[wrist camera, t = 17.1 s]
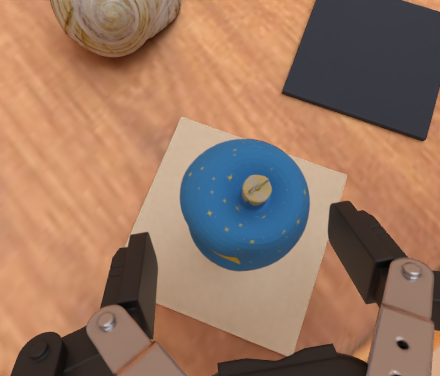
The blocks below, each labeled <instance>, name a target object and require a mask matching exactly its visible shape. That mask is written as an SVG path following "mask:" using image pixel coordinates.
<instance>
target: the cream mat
mask: <svg viewBox="0 0 440 376" xmlns="http://www.w3.org/2000/svg"><path fill="white" fill-rule="evenodd" d="M235 139H244V138H241V137H238V136H235V135H233V134H230V133H227V132H224V131H221V130H218V129H216V128H213V127H210V126H207V125H204V124H201V123H199V122H196V121H193V120H190V119H187V118H184V117H181V118H180V120H179V123H178V125H177V127H176V130H175V132H174V134H173V137H172V139H171V141H170V143H169V146H168V148H167V150H166V153H165V155H164V157H163V160H162V162H161V164H160V166H159V169H158V171H157V173H156V176H155V178H154V180H153V183H152V185H151V187H150V190H149V192H148V194H147V196H146V199H145V201H144V203H143V206H142V208H141V210H140V213H139V215H138V217H137V219H136V222H135V224H134V226H133V229H132V231H131V233H130V235H131V234H137V233H143V232H149V234H150V238H151V241H152V244H153V247H154V251H155V254H156V257H157V262H158V278H157V292H156V303H157V304H159V305H162V306H164V307H167V308H169V309H172V310H174V311H176V312H179V313H181V314H184V315H186V316H189V317H191V318H194V319H196V320H199V321H201V322H203V323H206V324H208V325H211V326H213V327H216V328H218V329H221V330H223V331H226V332H228V333H230V334H233V335H235V336H238V337H240V338H243V339H245V340H248V341H250V342H253V343H255V344H257V345H260V346H262V347H265V348H267V349H270V350H272V351H275V352H277V353H280V354H282V355H284V356H289V355H292V354H293V353H294V350H295V347H296V343H297V340H298V337H299V333H300V330H301V327H302V324H303V320H304V317H305V314H306V311H307V307H308V304H309V301H310V297H311V294H312V291H313V288H314V284H315V281H316V278H317V275H318V271H319V268H320V265H321V261H322V258H323V255H324V252H325V248H326V245H327V242H328V220H329V209H330V205H331V204H332V203H337V202H340V199H341V196H342V193H343V189H344V186H345V183H346V179H347V176H348V175H346V174H343V173H340V172H337V171H334V170H332V169H329V168H326V167H323V166H320V165H317V164H315V163H312V162H309V161H306V160H303V159H300V158H298V157H295V156H292V155H289V154H287V155H288V156H290V157H291V158H292V159H293V160H294V162H295V163H296V164H297V165H298V167H299V168H300V170H301V171H302V173H303V175H304V177H305V180H306V182H307V186H308V190H309V196H310V211H309V217H308V221H307V225H306V228H305V230H304V232H303V234H302V236H301V238H300V239H299V241H298V242H297V244H296V245H295V246H294V247H293V248H292V249H291V251H290V252H289V253H288V254H286V255H285V256H284V257H283V258H281V259H280V260H279V261H277V262H275V263H273V264H271V265H269V266H266V267H263V268H260V269H256V270H250V271H231V270H227V269H225V268H222V267H220V266H218V265H216V264H215V263H213V262H211V261H210V260H209V259H207V258H206V257H205V256H204V255H203V254H202V253H201V252H200V250H199V249H198V248H197V246H196V245H195V243H194V241H193V239H192V237H191V234H190V231H189V227H188V225H187V223H186V221H185V219H184V216H183V214H182V211H181V206H180V187H181V182H182V179H183V176H184V174H185V172H186V170H187V169H188V167H189V166H190V164H191V163H192V162H193V161H194V160H195V159H196V158H197V157H198V156H199V155H200V154H202V153H203V152H204V151H206V150H207V149H209V148H211V147H213V146H215V145H216V144H219V143H222V142H225V141H229V140H235ZM129 238H130V236H129ZM129 238H128V240H127V242H126V245H125V247H128V243H129Z"/></svg>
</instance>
